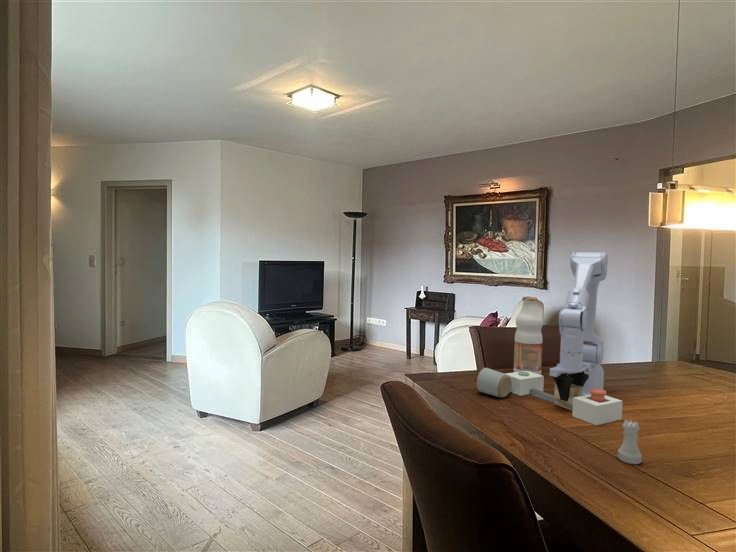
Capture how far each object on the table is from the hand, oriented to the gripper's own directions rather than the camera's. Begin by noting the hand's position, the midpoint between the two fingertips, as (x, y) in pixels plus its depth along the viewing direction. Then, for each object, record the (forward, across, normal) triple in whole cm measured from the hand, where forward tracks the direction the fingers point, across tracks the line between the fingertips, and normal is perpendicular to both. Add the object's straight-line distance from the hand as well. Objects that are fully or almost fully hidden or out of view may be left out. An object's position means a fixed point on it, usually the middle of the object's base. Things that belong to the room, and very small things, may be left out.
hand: (569, 399), depth 123 cm
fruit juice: (+3, -16, -30) cm, 35 cm away
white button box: (+2, 0, -17) cm, 17 cm away
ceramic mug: (+3, +10, -18) cm, 21 cm away
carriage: (+2, 0, 0) cm, 2 cm away
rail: (+2, 0, -4) cm, 5 cm away
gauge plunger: (-1, 0, +9) cm, 9 cm away
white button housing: (+2, 0, +8) cm, 9 cm away
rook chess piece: (+3, +16, +28) cm, 32 cm away
